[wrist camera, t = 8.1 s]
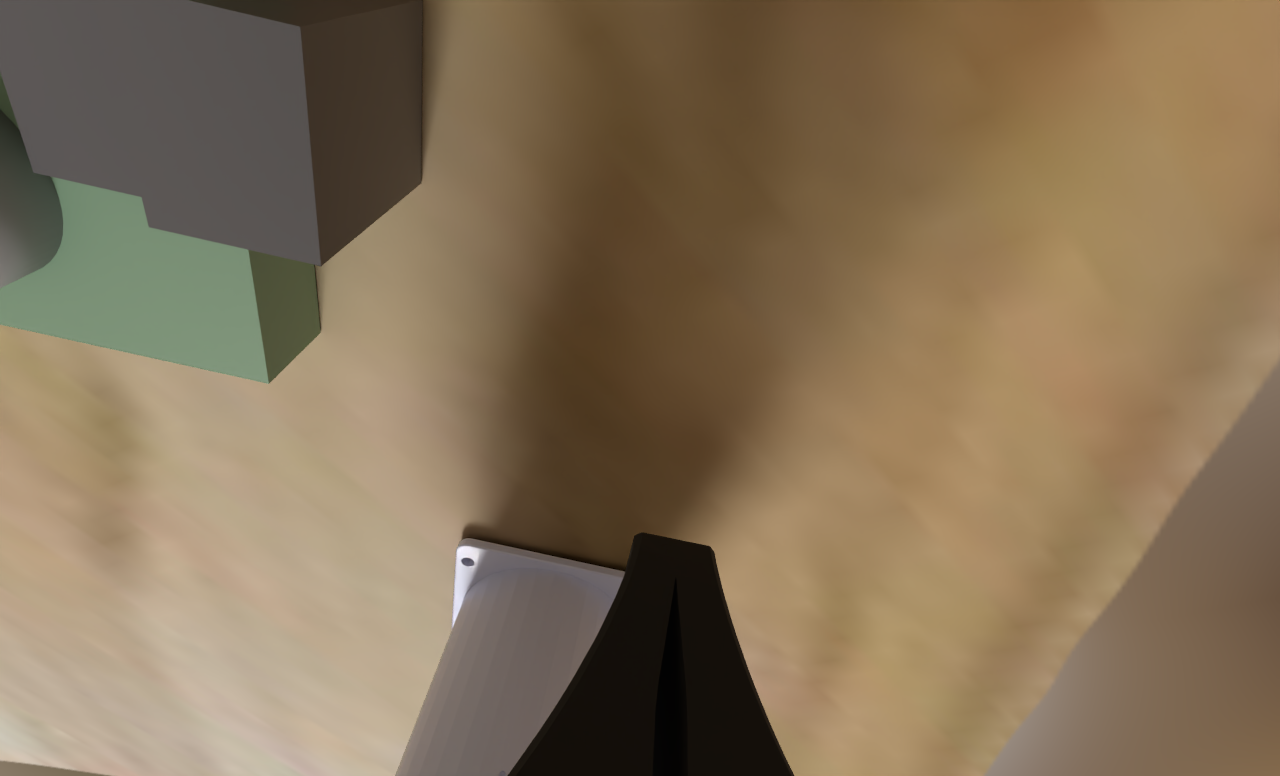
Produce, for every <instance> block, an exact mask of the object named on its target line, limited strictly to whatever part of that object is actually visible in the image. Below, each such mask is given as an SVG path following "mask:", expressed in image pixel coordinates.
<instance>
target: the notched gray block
mask: <svg viewBox="0 0 1280 776" xmlns="http://www.w3.org/2000/svg"><path fill="white" fill-rule="evenodd" d="M422 10H423V0H0V73H1V76H2V79H3V82H4V85H5V88H6V91H7V94H8V97H9V100H10V103H11V106H12V109H13V112H14V115H15V118H16V121H17V124H18V127H19V130H20V133H21V136H22V139H23V142H24V145H25V148H26V152H27V155H28V158H29V161H30V164H31V167H32V170H33V173H37V174H42V175H46V176H50V177H55V178H59V179H64V180H68V181H72V182H77V183H81V184H86V185H90V186H94V187H99V188H103V189H108V190H112V191H116V192H121V193H125V194H130V195H134V196H138V197H142V201H143V206H144V210H145V214H146V218H147V222H148V226H149V227H150V228H154V229H159V230H163V231H168V232H172V233H176V234H181V235H185V236H190V237H194V238H199V239H203V240H207V241H212V242H216V243H221V244H225V245H229V246H234V247H238V248H243V249H247V250H252V251H256V252H260V253H265V254H269V255H274V256H278V257H283V258H287V259H291V260H296V261H300V262H305V263H309V264H313V265H318V266H322V265H323V264H324V263H325V262H327V261H328V260H329V259H330V258H331V257H333V256H334V255H335V254H336V253H338V252H339V251H340V250H341V249H342V248H344V247H345V246H346V245H347V244H348V243H350V242H351V241H352V240H353V239H354V238H356V237H357V236H358V235H359V234H360V233H362V232H363V231H364V230H365V229H366V228H368V227H369V226H370V225H371V224H373V223H374V222H375V221H376V220H377V219H379V218H380V217H381V216H382V215H383V214H385V213H386V212H387V211H388V210H389V209H391V208H392V207H393V206H394V205H395V204H397V203H398V202H399V201H400V200H402V199H403V198H404V197H405V196H406V195H408V194H409V193H410V192H411V191H412V190H414V189H415V188H416V187H417V186H418V185H420V184H421V137H422Z"/></svg>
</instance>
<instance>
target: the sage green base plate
mask: <svg viewBox="0 0 1280 776" xmlns="http://www.w3.org/2000/svg"><path fill="white" fill-rule="evenodd" d="M0 325H5V326H9V327H14V328H18V329H23V330H27V331H32V332H37V333H41V334H46V335H50V336H55V337H59V338H64V339H68V340H73V341H77V342H82V343H86V344H91V345H95V346H100V347H105V348H109V349H114V350H118V351H123V352H127V353H132V354H136V355H141V356H145V357H150V358H154V359H159V360H163V361H168V362H173V363H177V364H182V365H186V366H191V367H195V368H200V369H204V370H209V371H213V372H218V373H222V374H227V375H231V376H236V377H240V378H245V379H250V380H254V381H259V382H263V383H268V384H269V383H270V382H271V381H272V380H273V379H274V378H275V377H276V376H277V375H278V374H279V373H280V372H281V371H282V370H283V369H284V368H285V367H286V366H287V365H288V364H289V363H290V362H291V361H292V360H293V359H294V358H295V357H296V356H297V355H298V354H299V353H300V352H301V351H302V350H303V349H304V348H305V347H306V346H307V345H308V344H309V343H310V342H311V341H312V340H313V339H314V338H315V337H317V336H318V335H319V334H320V333H321V332H320V321H319V310H318V299H317V289H316V278H315V267H314V265H313V264H309V263H305V262H300V261H296V260H291V259H287V258H283V257H278V256H274V255H269V254H265V253H260V252H256V251H252V250H247V249H243V248H238V247H234V246H229V245H225V244H221V243H216V242H212V241H207V240H203V239H199V238H194V237H190V236H185V235H181V234H176V233H172V232H168V231H163V230H159V229H154V228H150V227H149V226H148V222H147V218H146V214H145V210H144V206H143V201H142V197H138V196H134V195H130V194H125V193H121V192H116V191H112V190H108V189H103V188H99V187H94V186H90V185H86V184H81V183H77V182H72V181H68V180H64V179H59V178H55V177H50V176H46V175H42V174H37V173H33V170H32V167H31V164H30V161H29V158H28V155H27V152H26V148H25V145H24V142H23V139H22V136H21V133H20V130H19V127H18V124H17V121H16V118H15V115H14V112H13V109H12V106H11V103H10V100H9V97H8V94H7V91H6V88H5V85H4V82H3V79H2V76H1V73H0Z"/></svg>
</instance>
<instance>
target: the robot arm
mask: <svg viewBox="0 0 1280 776" xmlns="http://www.w3.org/2000/svg"><path fill="white" fill-rule="evenodd" d="M395 776H794V774H793V772H792V770H791V768H790V766H789V764H788V762H787V760H786V758H785V756H784V754H783V751H782V749H781V747H780V745H779V743H778V740H777V738H776V736H775V734H774V731H773V729H772V727H771V725H770V722H769V720H768V718H767V715H766V713H765V710H764V708H763V705H762V703H761V701H760V698H759V696H758V693H757V691H756V688H755V686H754V683H753V680H752V678H751V675H750V673H749V670H748V667H747V664H746V661H745V659H744V656H743V653H742V650H741V647H740V644H739V641H738V639H737V636H736V633H735V630H734V626H733V623H732V620H731V617H730V613H729V610H728V607H727V603H726V600H725V596H724V593H723V589H722V585H721V581H720V577H719V573H718V568H717V564H716V559H715V554H714V551H713V550H712V548H711V547H710V546H706V545H701V544H696V543H691V542H687V541H682V540H677V539H672V538H667V537H662V536H657V535H652V534H647V533H639V534H637V535H635V536H634V539H633V543H632V547H631V551H630V555H629V559H628V563H627V567H626V571H620V570H615V569H611V568H606V567H602V566H597V565H592V564H588V563H583V562H578V561H574V560H569V559H565V558H560V557H555V556H551V555H546V554H541V553H537V552H532V551H527V550H523V549H518V548H514V547H509V546H504V545H500V544H495V543H490V542H486V541H481V540H477V539H472V538H466V539H462V540H461V541H460V542H459V545H458V547H457V550H456V563H455V581H454V598H453V616H452V631H451V634H450V636H449V639H448V641H447V644H446V646H445V649H444V652H443V654H442V657H441V659H440V662H439V664H438V667H437V670H436V672H435V675H434V677H433V680H432V682H431V685H430V688H429V690H428V693H427V695H426V698H425V700H424V703H423V706H422V708H421V711H420V713H419V716H418V718H417V721H416V724H415V726H414V729H413V731H412V734H411V736H410V739H409V742H408V744H407V747H406V749H405V752H404V754H403V757H402V760H401V762H400V765H399V767H398V770H397V772H396V775H395Z"/></svg>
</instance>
